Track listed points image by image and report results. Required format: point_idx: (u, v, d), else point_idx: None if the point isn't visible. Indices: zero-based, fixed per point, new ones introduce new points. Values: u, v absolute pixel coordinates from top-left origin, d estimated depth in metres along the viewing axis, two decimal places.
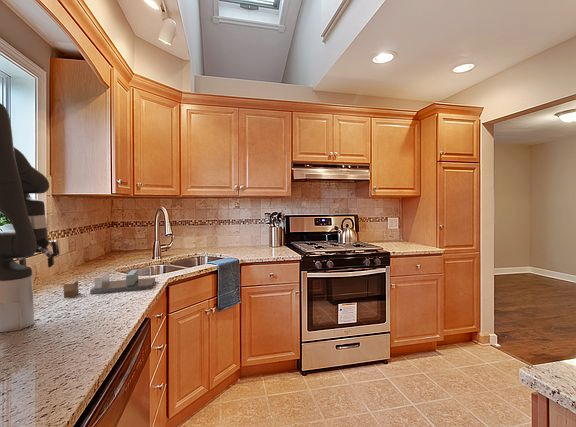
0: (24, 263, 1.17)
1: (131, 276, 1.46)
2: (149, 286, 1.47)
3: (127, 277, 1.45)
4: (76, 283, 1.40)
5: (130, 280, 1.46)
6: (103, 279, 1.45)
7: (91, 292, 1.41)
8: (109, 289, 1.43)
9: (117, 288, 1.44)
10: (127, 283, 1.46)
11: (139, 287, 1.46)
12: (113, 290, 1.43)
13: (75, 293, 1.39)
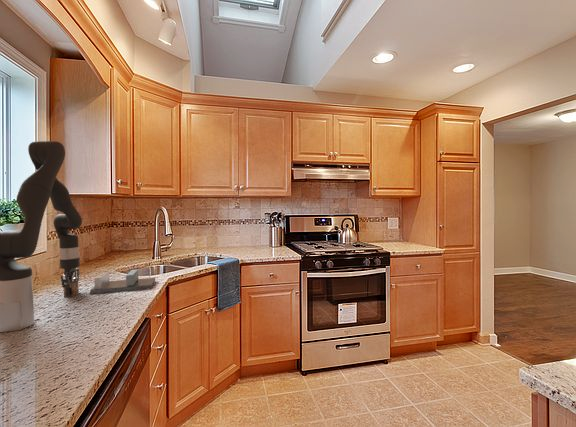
0: None
1: (131, 276, 1.46)
2: (149, 286, 1.47)
3: (127, 277, 1.45)
4: (76, 283, 1.40)
5: (130, 280, 1.46)
6: (103, 279, 1.45)
7: (91, 292, 1.41)
8: (109, 289, 1.43)
9: (117, 288, 1.44)
10: (127, 283, 1.46)
11: (139, 287, 1.46)
12: (113, 290, 1.43)
13: (75, 293, 1.39)
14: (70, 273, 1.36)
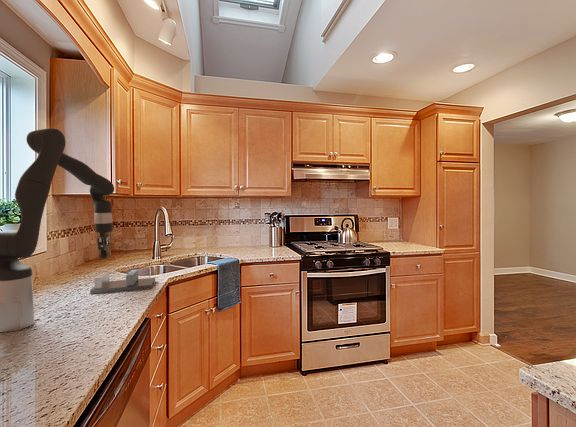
0: None
1: (131, 276, 1.46)
2: (149, 286, 1.47)
3: (127, 277, 1.45)
4: (109, 247, 1.49)
5: (130, 280, 1.46)
6: (103, 279, 1.45)
7: (91, 292, 1.41)
8: (109, 289, 1.43)
9: (117, 288, 1.44)
10: (127, 283, 1.46)
11: (139, 287, 1.46)
12: (113, 290, 1.43)
13: (109, 256, 1.47)
14: (105, 237, 1.45)
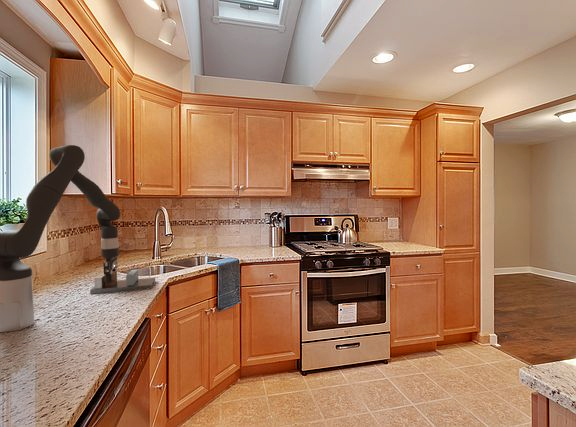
0: None
1: (131, 276, 1.46)
2: (149, 286, 1.47)
3: (127, 277, 1.45)
4: (115, 273, 1.50)
5: (130, 280, 1.46)
6: (103, 279, 1.45)
7: (91, 292, 1.41)
8: (109, 289, 1.43)
9: (117, 288, 1.44)
10: (127, 283, 1.46)
11: (139, 287, 1.46)
12: (113, 290, 1.43)
13: (115, 282, 1.49)
14: (111, 261, 1.46)
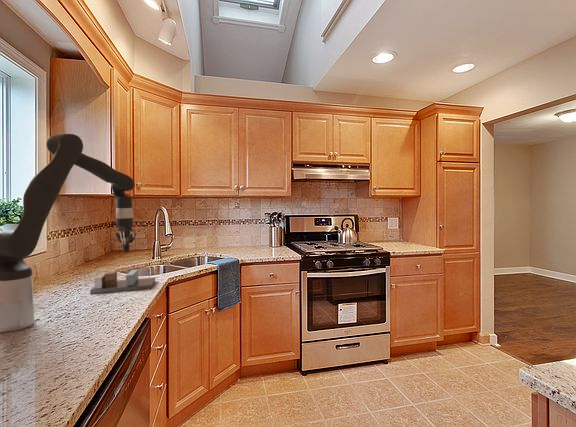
0: None
1: (131, 276, 1.46)
2: (149, 286, 1.47)
3: (127, 277, 1.45)
4: (115, 273, 1.50)
5: (130, 280, 1.46)
6: (103, 279, 1.45)
7: (91, 292, 1.41)
8: (109, 289, 1.43)
9: (117, 288, 1.44)
10: (127, 283, 1.46)
11: (139, 287, 1.46)
12: (113, 290, 1.43)
13: (115, 282, 1.49)
14: None
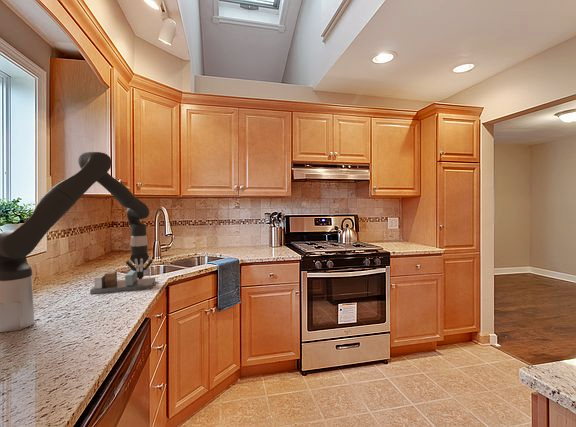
0: None
1: (130, 276, 1.46)
2: (149, 286, 1.47)
3: (126, 277, 1.45)
4: (115, 273, 1.50)
5: (129, 280, 1.46)
6: (103, 279, 1.45)
7: (91, 292, 1.41)
8: (109, 289, 1.43)
9: (117, 288, 1.44)
10: (126, 283, 1.45)
11: (139, 287, 1.46)
12: (113, 290, 1.43)
13: (115, 282, 1.49)
14: None
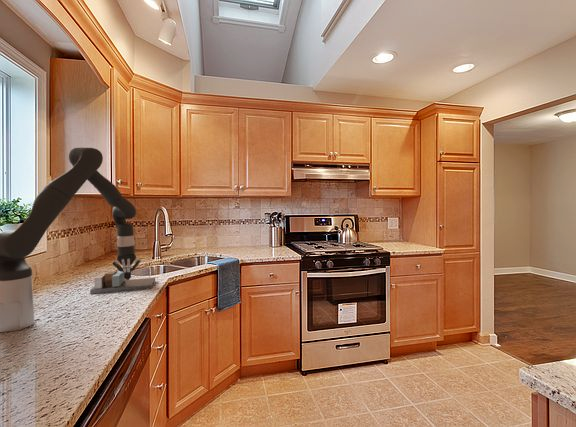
0: None
1: (117, 277, 1.44)
2: (149, 286, 1.47)
3: (113, 278, 1.44)
4: None
5: (116, 281, 1.44)
6: (103, 279, 1.45)
7: (91, 292, 1.41)
8: (109, 289, 1.43)
9: (117, 288, 1.44)
10: (113, 284, 1.44)
11: (139, 287, 1.46)
12: (113, 290, 1.43)
13: None
14: None
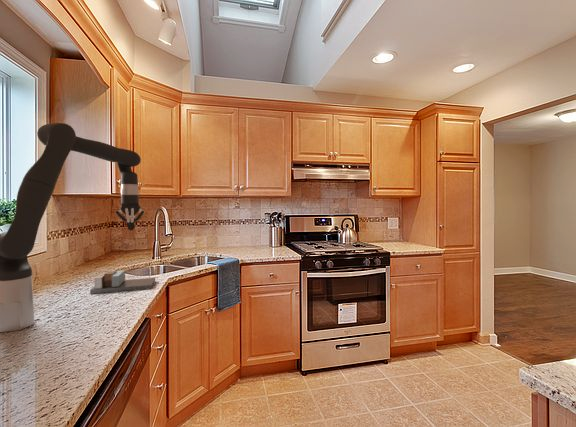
0: None
1: (117, 277, 1.44)
2: (149, 286, 1.47)
3: (112, 278, 1.44)
4: None
5: (116, 281, 1.44)
6: (103, 279, 1.45)
7: (91, 292, 1.41)
8: (109, 289, 1.43)
9: (117, 288, 1.44)
10: (112, 284, 1.44)
11: (139, 287, 1.46)
12: (113, 290, 1.43)
13: None
14: None
